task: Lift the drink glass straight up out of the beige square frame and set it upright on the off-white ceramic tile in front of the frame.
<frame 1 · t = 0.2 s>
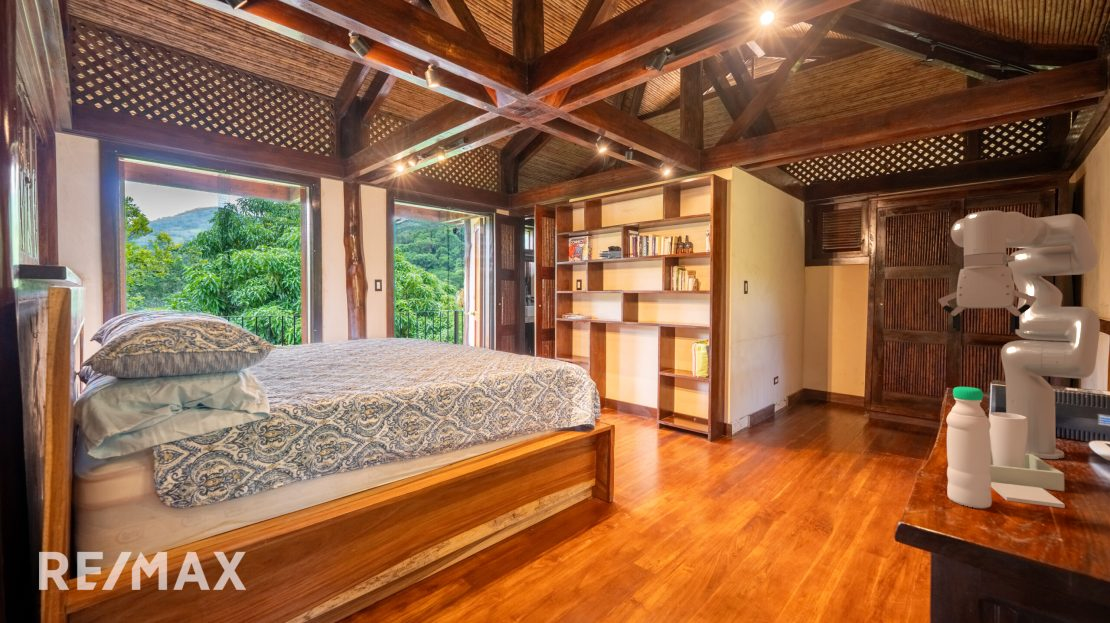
hand: (985, 332, 109), 36 cm above the table, tool pointing down, fingers open, 9 cm apart
drinking glass: (1008, 476, 110), resting in beige square frame
beige square frame: (1008, 475, 110), on the table
water bottle: (968, 503, 97), on the table
ceramic tile: (1024, 495, 99), on the table
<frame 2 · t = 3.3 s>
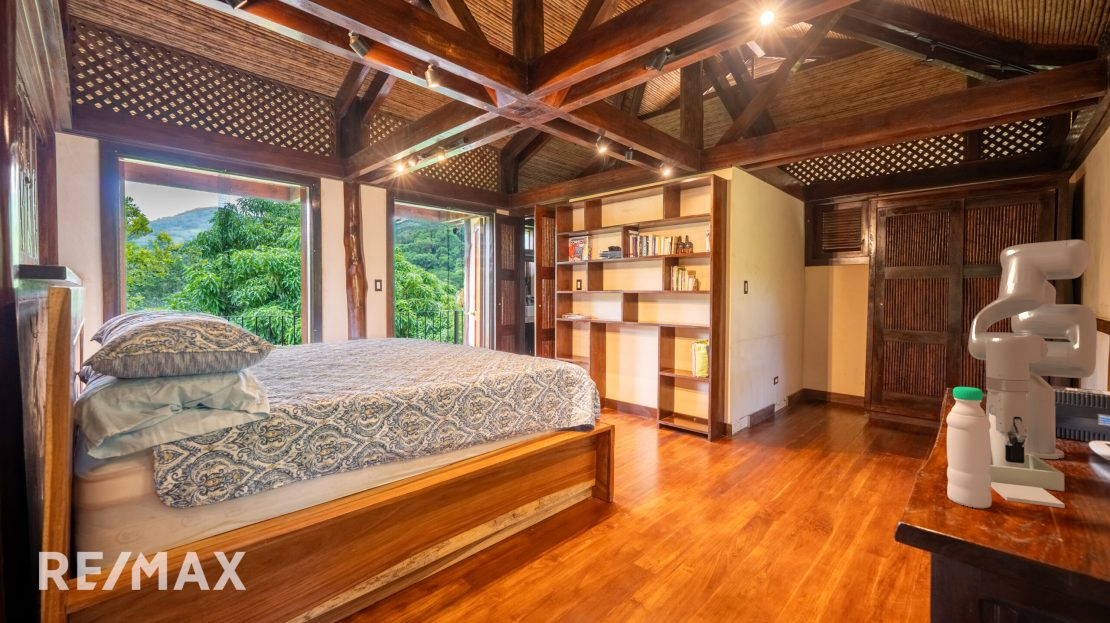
hand: (1008, 456, 110), 5 cm above the table, tool pointing down, fingers closed on drinking glass, 6 cm apart
drinking glass: (1008, 476, 110), resting in beige square frame, touching gripper
everything else where it was.
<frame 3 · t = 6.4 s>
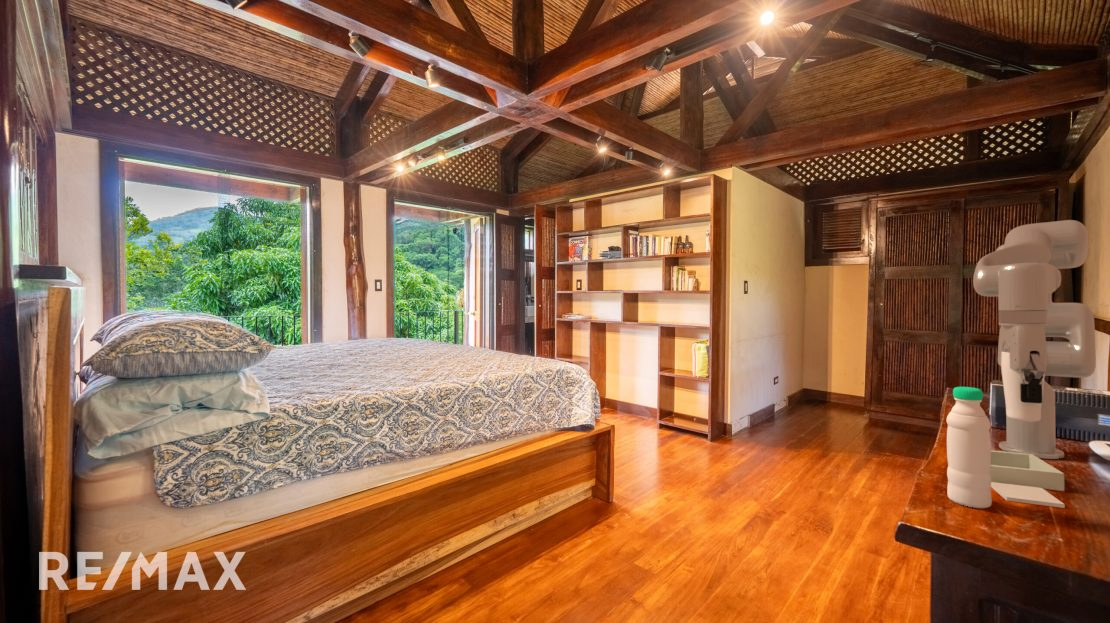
hand: (1023, 398, 99), 22 cm above the table, tool pointing down, fingers closed on drinking glass, 6 cm apart
drinking glass: (1023, 420, 99), point 17 cm above the table, touching gripper
everything else where it was.
when the fingers open (7 cm above the table, at t = 9.7 s): drinking glass drops 1 cm, resting on ceramic tile.
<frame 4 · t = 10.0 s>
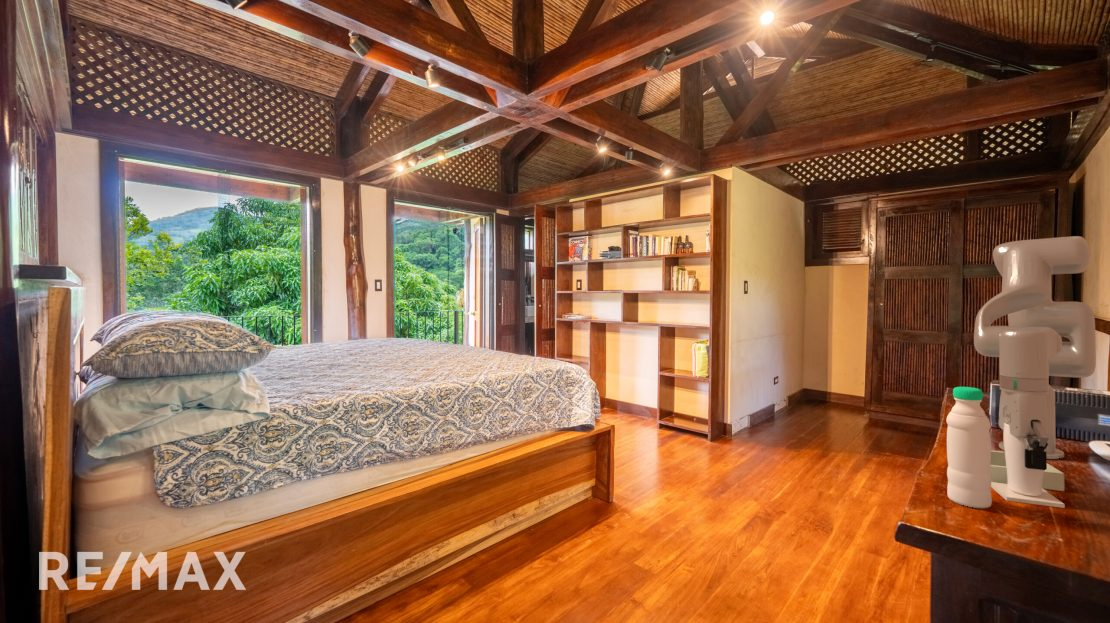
hand: (1024, 461, 99), 8 cm above the table, tool pointing down, fingers open, 9 cm apart
drinking glass: (1024, 492, 99), point 1 cm above the table, touching ceramic tile
everything else where it was.
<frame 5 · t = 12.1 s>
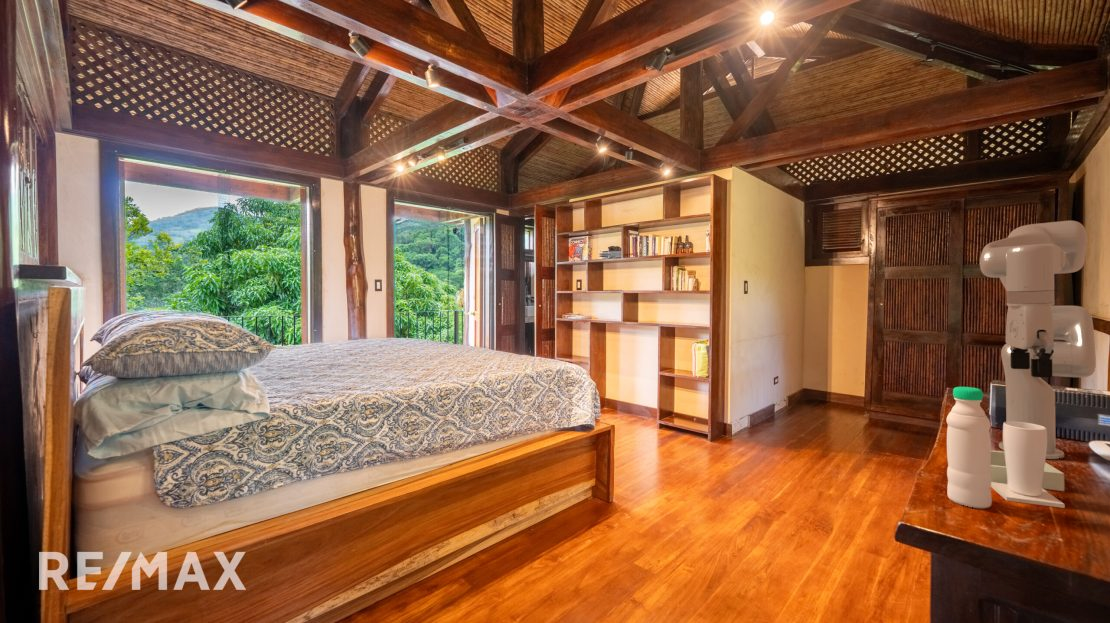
hand: (1030, 372, 102), 27 cm above the table, tool pointing down, fingers open, 9 cm apart
nothing on the table moved.
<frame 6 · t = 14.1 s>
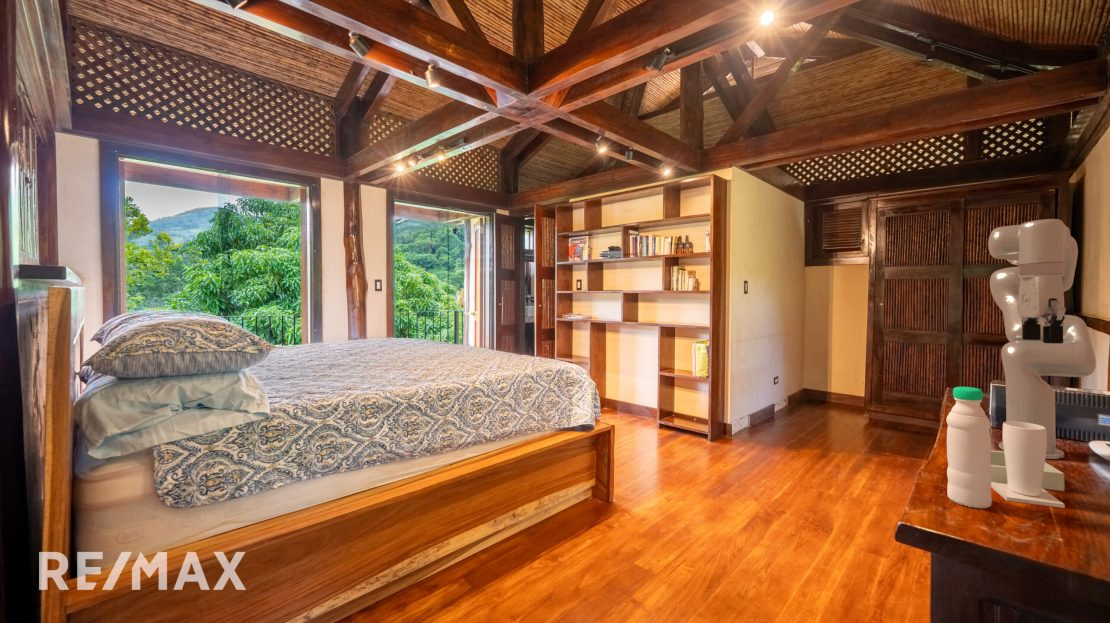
hand: (1041, 341, 108), 33 cm above the table, tool pointing down, fingers open, 9 cm apart
nothing on the table moved.
at the end: drinking glass 0.1 cm off-centre on the ceramic tile, point 0.6 cm above the ceramic tile's base; drinking glass tilted 0°; the gripper is holding nothing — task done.
